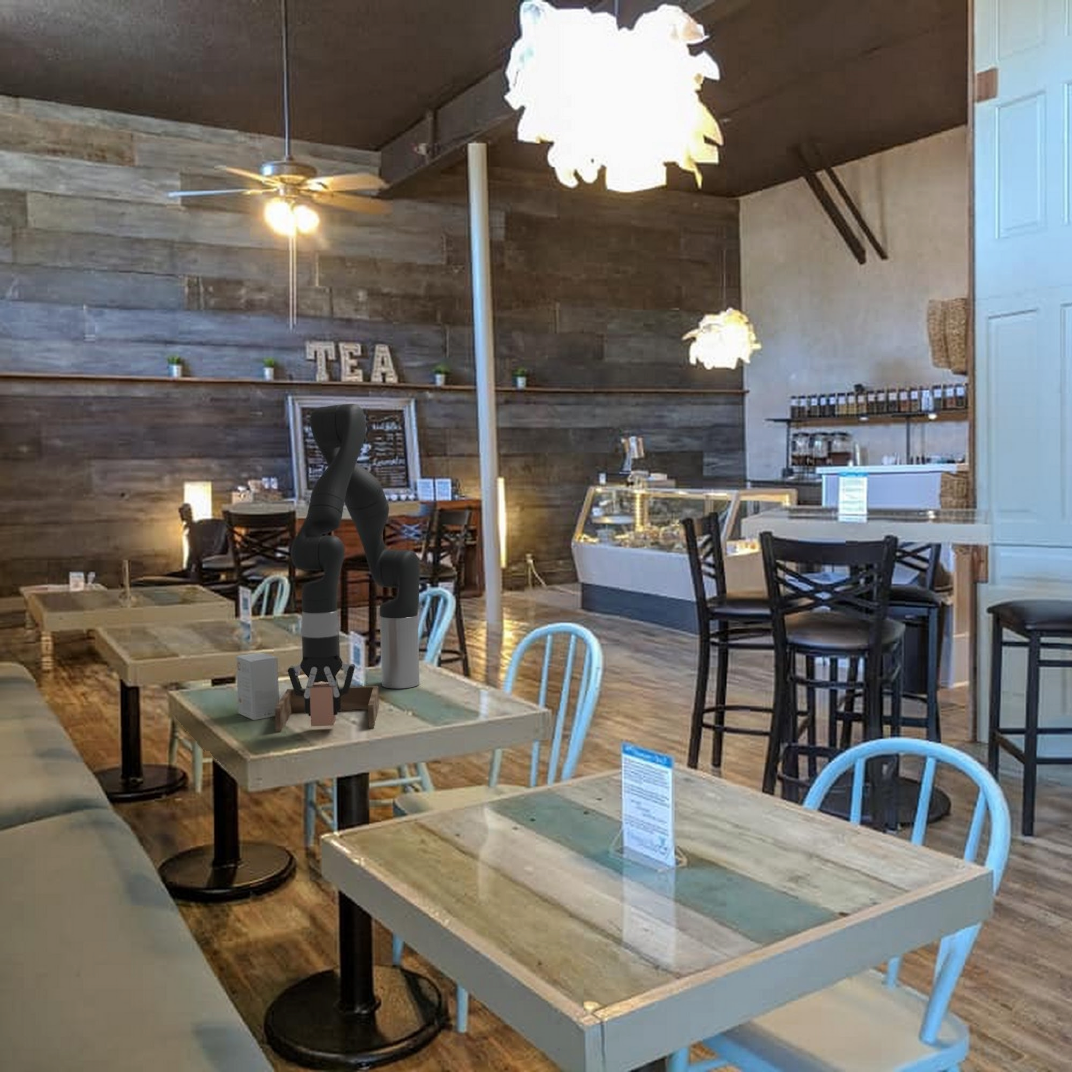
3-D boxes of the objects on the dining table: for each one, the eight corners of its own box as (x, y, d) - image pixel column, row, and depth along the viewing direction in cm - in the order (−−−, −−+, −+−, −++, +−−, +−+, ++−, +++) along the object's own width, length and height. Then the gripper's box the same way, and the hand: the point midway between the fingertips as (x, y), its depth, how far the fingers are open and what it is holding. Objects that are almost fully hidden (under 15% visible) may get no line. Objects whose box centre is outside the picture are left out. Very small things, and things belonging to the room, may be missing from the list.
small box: (280, 715, 227) (278, 657, 226) (253, 720, 223) (250, 661, 222) (264, 708, 233) (262, 651, 232) (237, 713, 229) (235, 655, 228)
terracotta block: (313, 720, 216) (312, 682, 215) (335, 720, 216) (334, 682, 215) (311, 726, 211) (309, 687, 211) (333, 725, 212) (332, 687, 211)
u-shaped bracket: (288, 711, 230) (287, 689, 230) (378, 707, 232) (378, 685, 232) (275, 732, 213) (275, 708, 213) (373, 728, 215) (373, 704, 215)
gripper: (357, 628, 216) (359, 709, 218) (287, 630, 215) (290, 711, 217) (354, 635, 209) (356, 718, 210) (282, 637, 208) (285, 720, 209)
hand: (323, 714), depth 213 cm, fingers closed on terracotta block, 4 cm apart
